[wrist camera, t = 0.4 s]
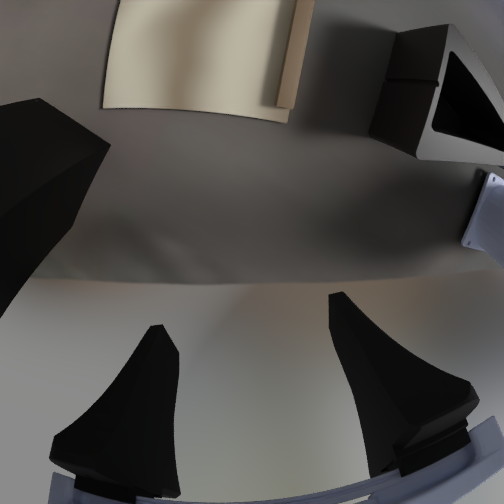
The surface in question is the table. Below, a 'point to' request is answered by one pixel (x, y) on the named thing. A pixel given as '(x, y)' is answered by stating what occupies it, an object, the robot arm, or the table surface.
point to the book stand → (208, 56)
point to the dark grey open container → (427, 94)
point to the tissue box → (39, 185)
